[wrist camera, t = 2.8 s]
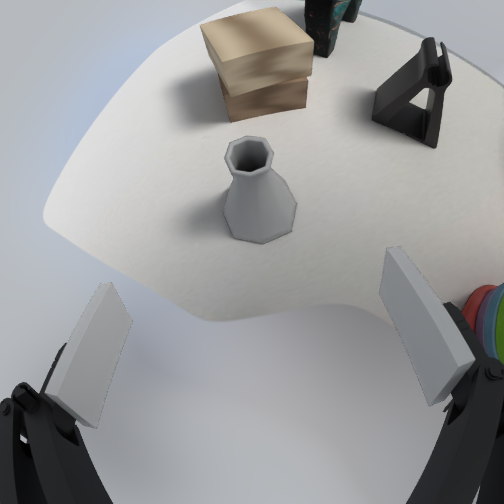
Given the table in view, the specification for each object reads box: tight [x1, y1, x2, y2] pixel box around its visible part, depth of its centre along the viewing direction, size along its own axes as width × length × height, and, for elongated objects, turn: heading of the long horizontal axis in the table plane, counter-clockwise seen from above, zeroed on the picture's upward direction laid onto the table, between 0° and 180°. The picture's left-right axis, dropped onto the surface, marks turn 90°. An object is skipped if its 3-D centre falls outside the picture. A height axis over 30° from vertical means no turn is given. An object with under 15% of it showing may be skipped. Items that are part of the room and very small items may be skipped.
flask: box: [223, 136, 297, 244], centre depth 22 cm, size 7×7×10 cm
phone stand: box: [372, 37, 452, 148], centre depth 22 cm, size 9×6×12 cm, turn 68°
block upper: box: [200, 7, 314, 97], centre depth 23 cm, size 9×9×5 cm
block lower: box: [218, 73, 308, 123], centre depth 28 cm, size 9×9×5 cm
